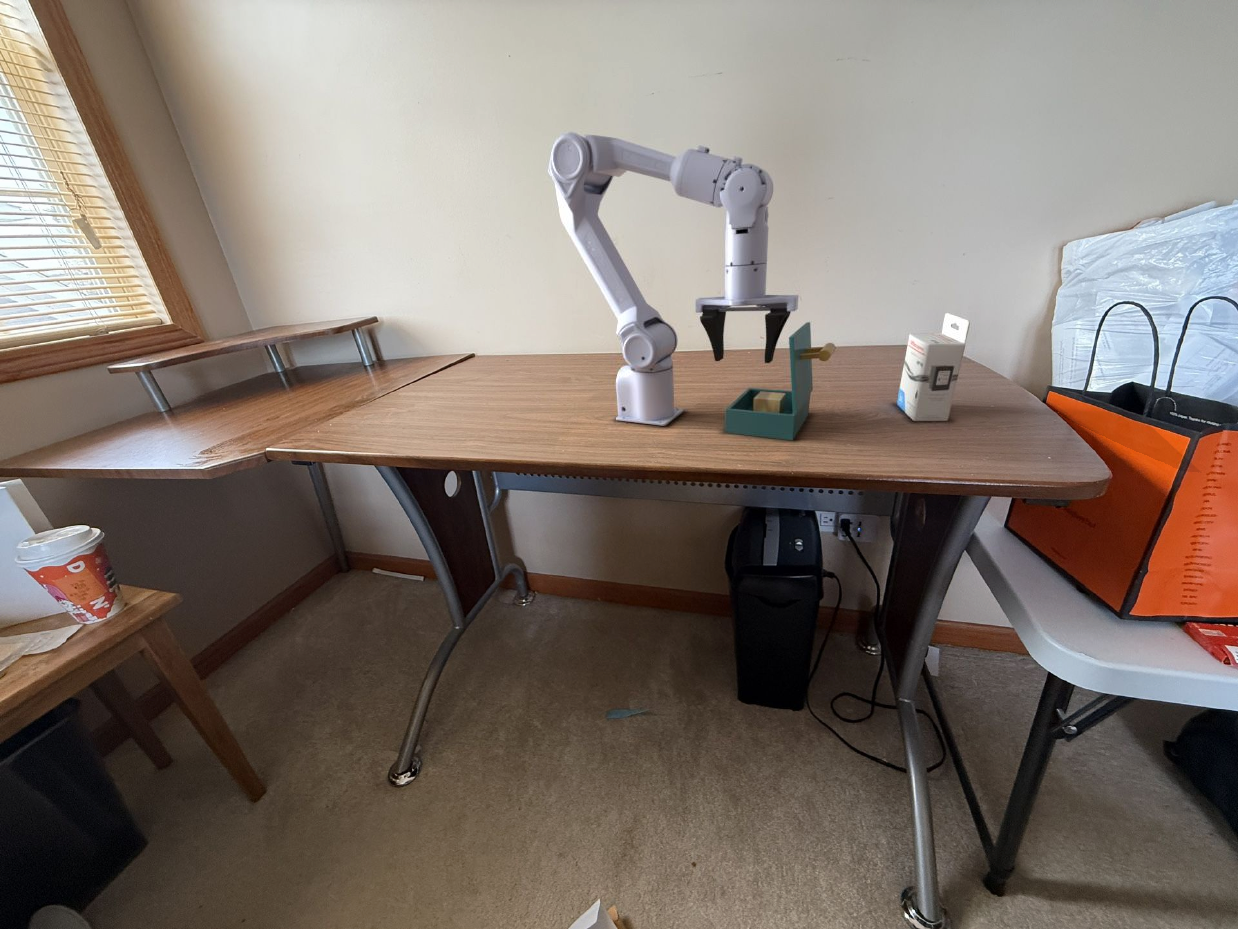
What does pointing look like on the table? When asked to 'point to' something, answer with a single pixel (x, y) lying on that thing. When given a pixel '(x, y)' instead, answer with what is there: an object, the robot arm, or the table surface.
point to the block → (770, 402)
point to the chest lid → (804, 364)
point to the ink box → (932, 371)
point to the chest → (764, 417)
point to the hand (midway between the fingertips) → (743, 360)
